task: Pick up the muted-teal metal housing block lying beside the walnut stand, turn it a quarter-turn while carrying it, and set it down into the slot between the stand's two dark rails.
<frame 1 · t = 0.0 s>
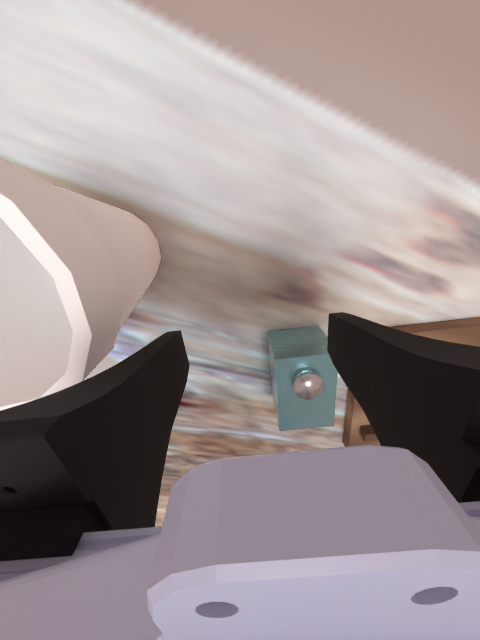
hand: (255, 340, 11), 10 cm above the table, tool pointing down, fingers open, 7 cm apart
housing: (293, 361, 24), on the table
foam cup: (123, 250, 19), on the table
stand: (420, 386, 25), on the table
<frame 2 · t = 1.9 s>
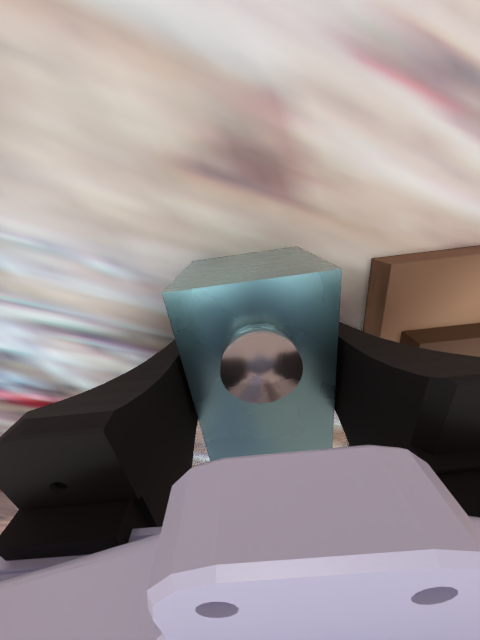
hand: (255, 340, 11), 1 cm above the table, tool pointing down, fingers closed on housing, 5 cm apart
housing: (253, 328, 12), on the table, touching gripper
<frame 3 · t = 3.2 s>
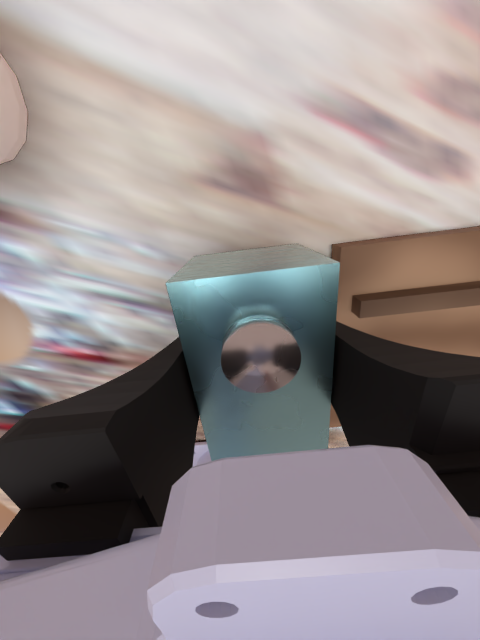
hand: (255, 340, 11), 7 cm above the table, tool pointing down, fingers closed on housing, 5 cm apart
housing: (253, 323, 13), point 5 cm above the table, touching gripper
stand: (425, 333, 19), on the table
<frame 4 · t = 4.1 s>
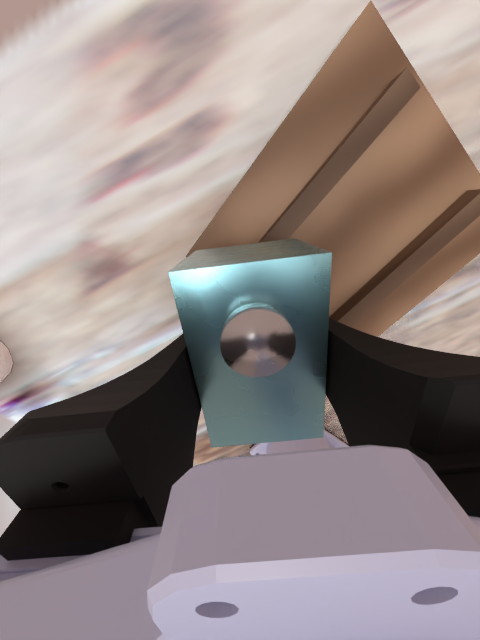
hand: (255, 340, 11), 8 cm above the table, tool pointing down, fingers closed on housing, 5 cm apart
housing: (252, 316, 13), point 6 cm above the table, touching gripper
stand: (337, 239, 17), on the table
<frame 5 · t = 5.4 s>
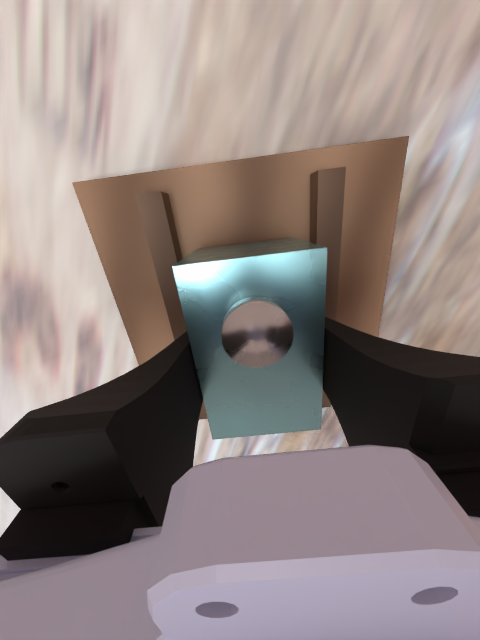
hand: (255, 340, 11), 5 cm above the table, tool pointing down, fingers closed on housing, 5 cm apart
housing: (251, 313, 13), point 2 cm above the table, touching gripper
stand: (250, 306, 15), on the table
when the fingers open (4 cm above the table, at t = 6.4 s): housing stays where it is, resting on stand.
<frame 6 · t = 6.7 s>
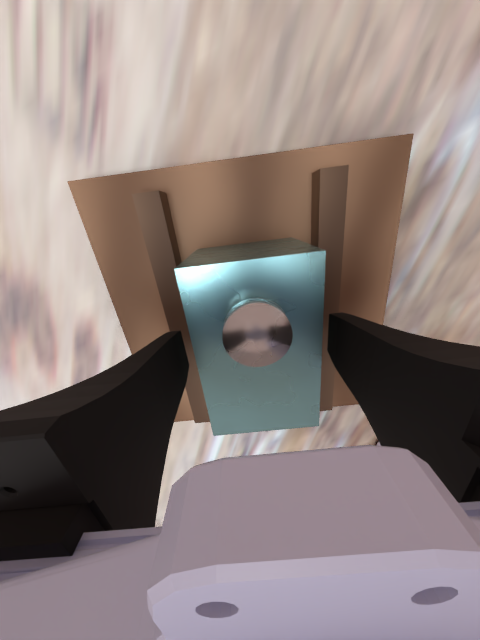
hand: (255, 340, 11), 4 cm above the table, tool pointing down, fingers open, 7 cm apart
housing: (251, 312, 14), point 1 cm above the table, touching stand
stand: (250, 307, 15), on the table
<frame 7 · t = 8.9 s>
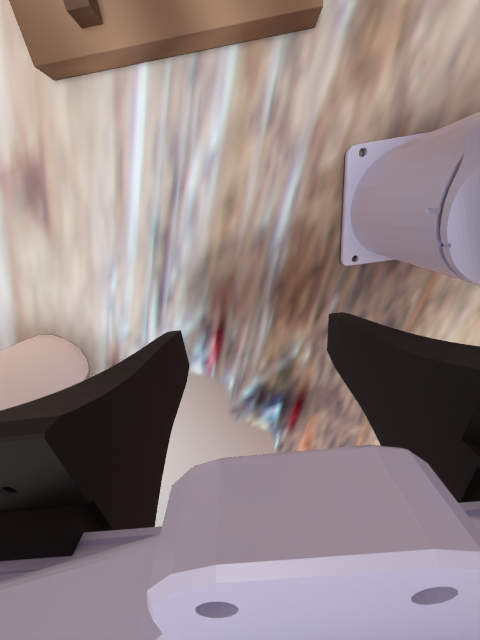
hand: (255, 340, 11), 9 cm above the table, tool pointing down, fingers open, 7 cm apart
foam cup: (58, 360, 23), on the table
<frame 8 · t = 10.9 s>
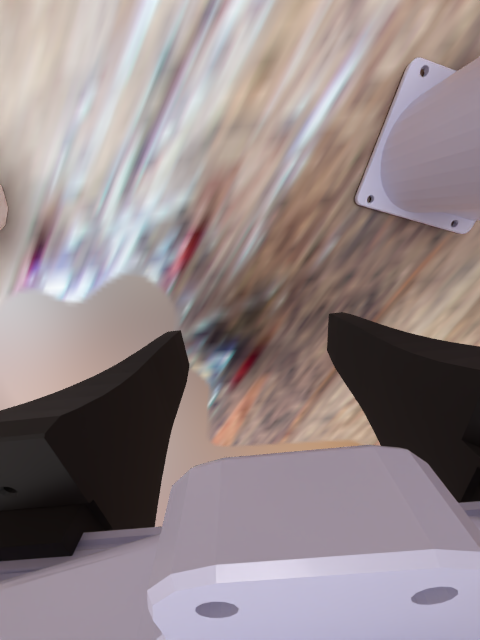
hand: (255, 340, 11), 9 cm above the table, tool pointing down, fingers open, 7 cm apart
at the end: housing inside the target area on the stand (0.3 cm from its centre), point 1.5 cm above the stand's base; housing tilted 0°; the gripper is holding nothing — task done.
